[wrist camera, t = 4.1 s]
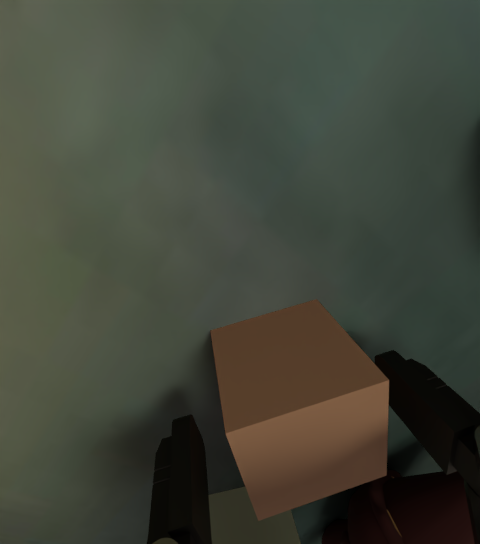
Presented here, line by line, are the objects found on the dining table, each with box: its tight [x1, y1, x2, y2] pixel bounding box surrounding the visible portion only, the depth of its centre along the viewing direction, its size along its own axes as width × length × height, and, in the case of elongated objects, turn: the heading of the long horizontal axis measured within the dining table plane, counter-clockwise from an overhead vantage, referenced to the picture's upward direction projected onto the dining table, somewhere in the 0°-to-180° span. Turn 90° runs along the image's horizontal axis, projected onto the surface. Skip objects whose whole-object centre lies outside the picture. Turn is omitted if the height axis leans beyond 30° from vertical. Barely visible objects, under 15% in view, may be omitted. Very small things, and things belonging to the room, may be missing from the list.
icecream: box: [322, 470, 475, 544], centre depth 17 cm, size 7×7×15 cm
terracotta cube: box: [210, 299, 389, 521], centre depth 11 cm, size 5×5×5 cm
